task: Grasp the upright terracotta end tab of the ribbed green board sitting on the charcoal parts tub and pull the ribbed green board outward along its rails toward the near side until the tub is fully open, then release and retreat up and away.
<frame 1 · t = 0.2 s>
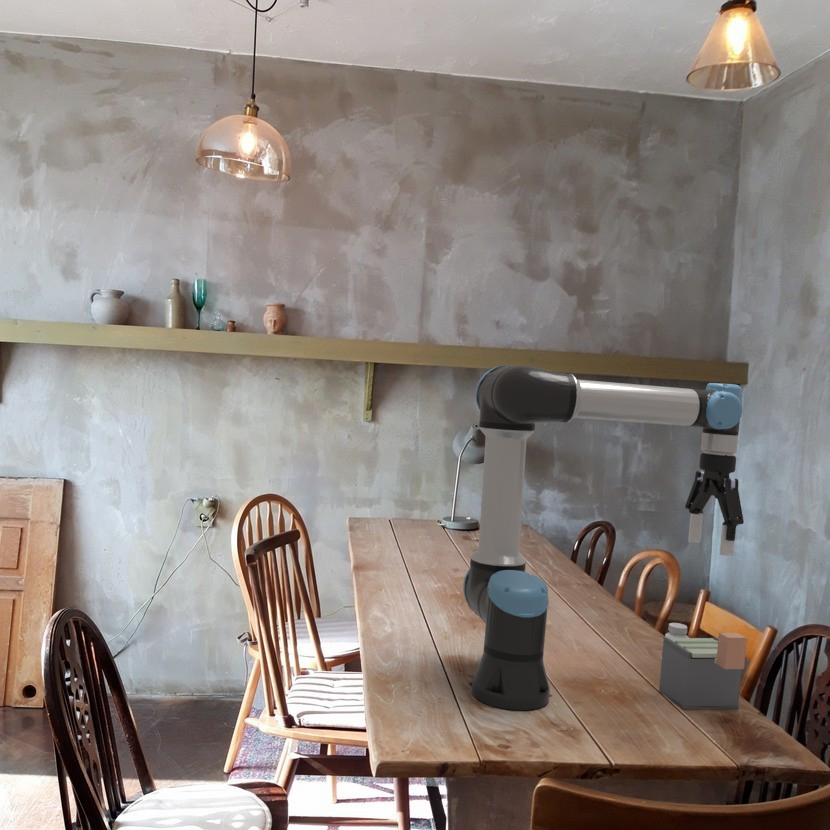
hand: (709, 548, 184), 28 cm above the table, fingers open, 13 cm apart
tub: (697, 699, 167), on the table
ribbed green board: (712, 639, 164), point 13 cm above the table, slide at 0.0 cm
pill bottle: (674, 669, 186), on the table
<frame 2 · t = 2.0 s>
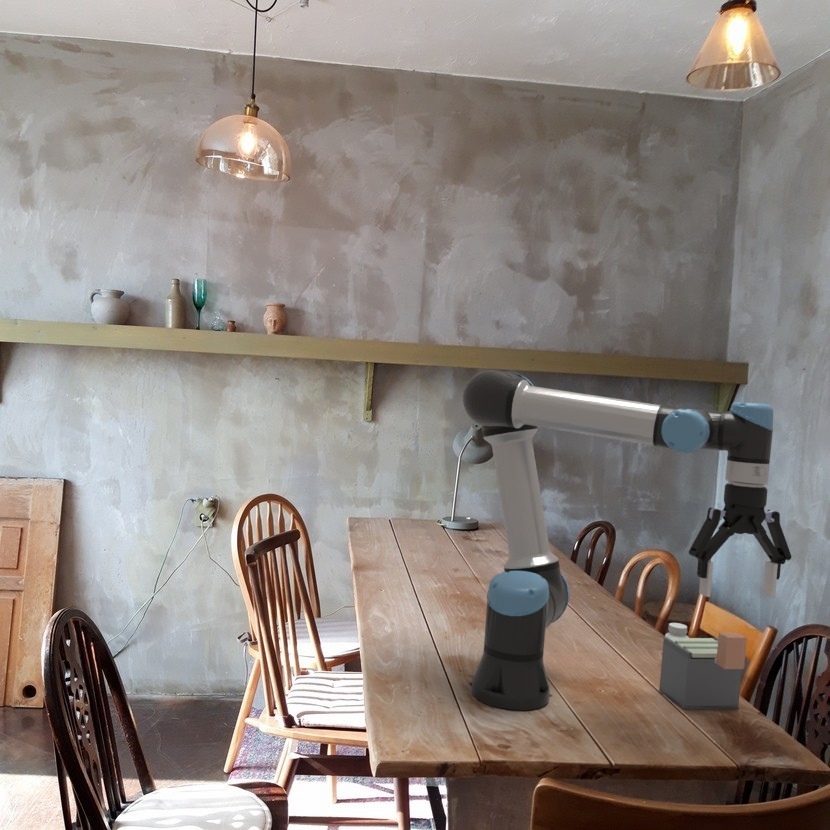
hand: (736, 595, 157), 24 cm above the table, fingers open, 13 cm apart
nothing on the table moved.
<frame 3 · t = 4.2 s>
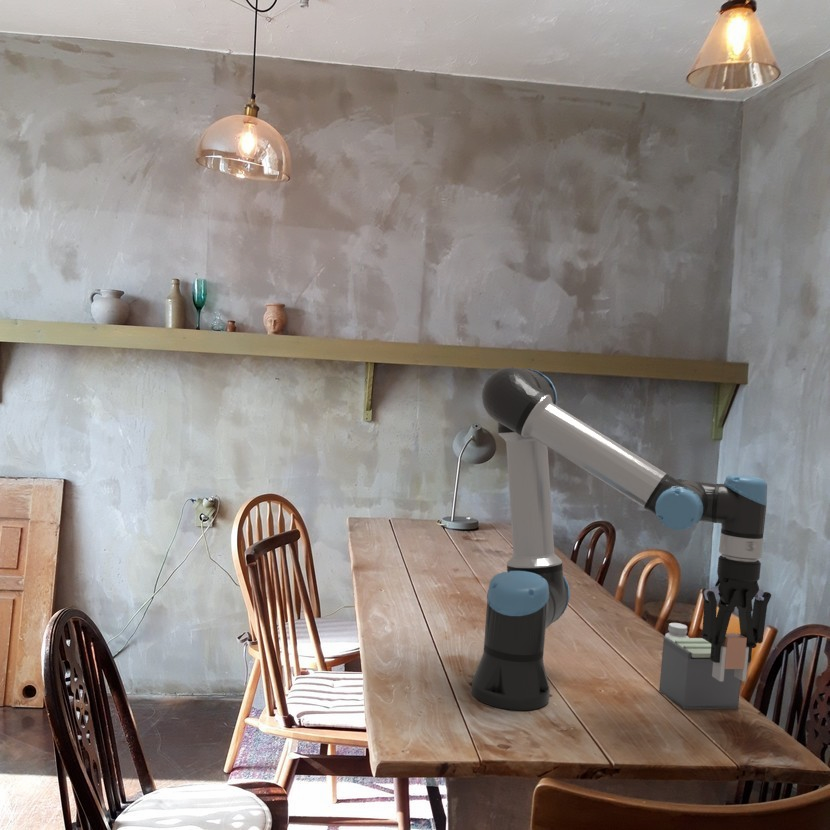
hand: (728, 678, 158), 8 cm above the table, fingers closed on ribbed green board, 4 cm apart
ribbed green board: (712, 639, 164), point 13 cm above the table, slide at 0.0 cm, touching gripper
everything else where it was.
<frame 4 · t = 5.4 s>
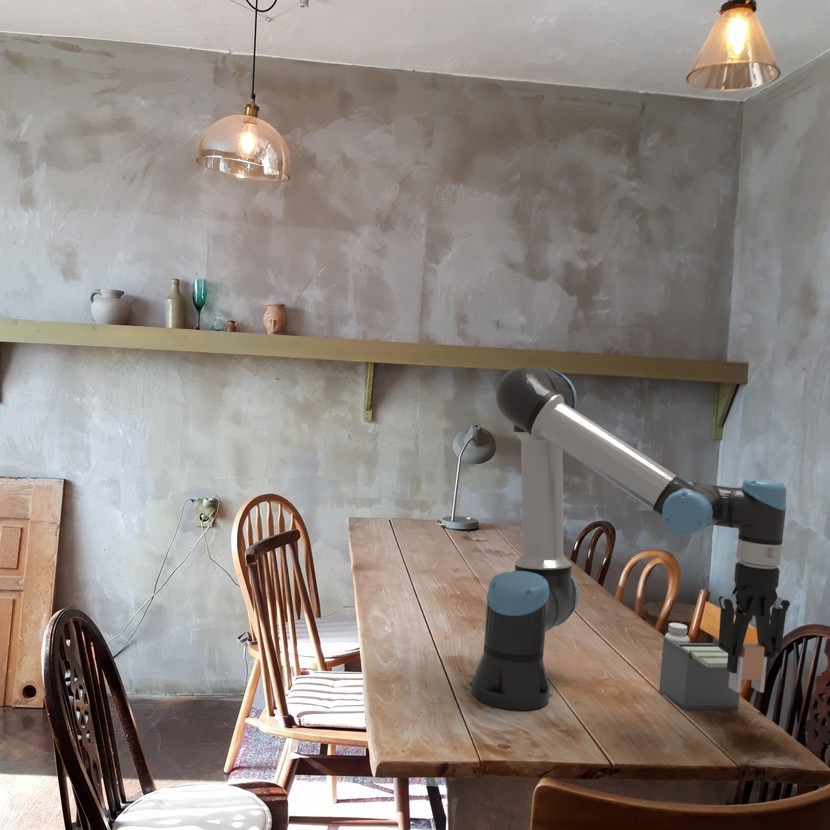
hand: (746, 689, 152), 8 cm above the table, fingers closed on ribbed green board, 4 cm apart
ribbed green board: (728, 649, 158), point 13 cm above the table, slide at 5.5 cm, touching gripper
everything else where it was.
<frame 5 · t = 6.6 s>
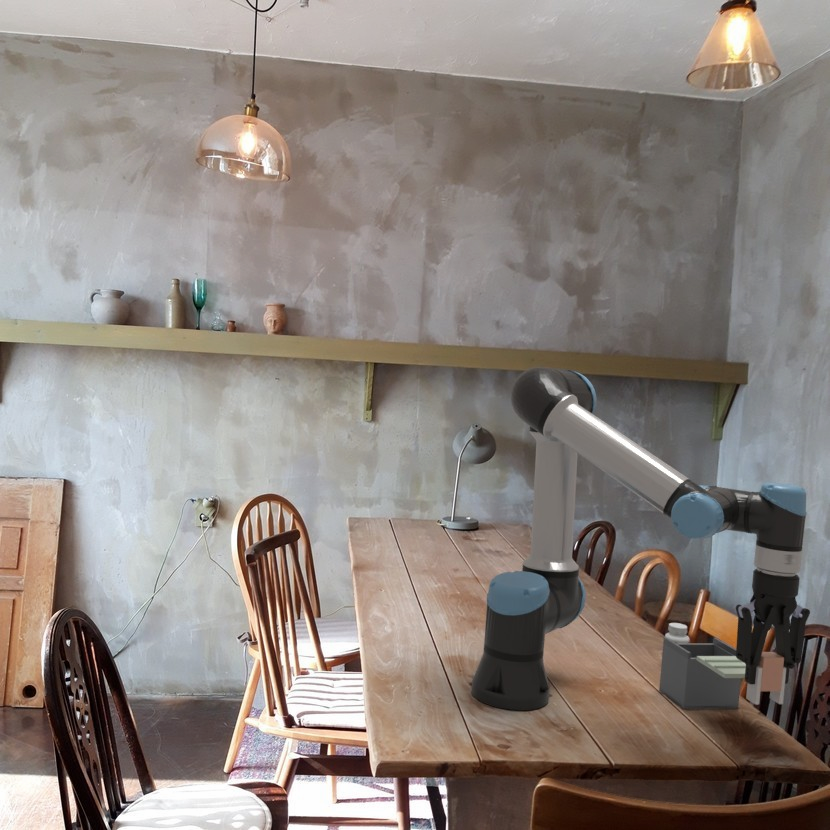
hand: (764, 701, 147), 8 cm above the table, fingers closed on ribbed green board, 4 cm apart
ribbed green board: (745, 658, 153), point 13 cm above the table, slide at 10.9 cm, touching gripper
everything else where it was.
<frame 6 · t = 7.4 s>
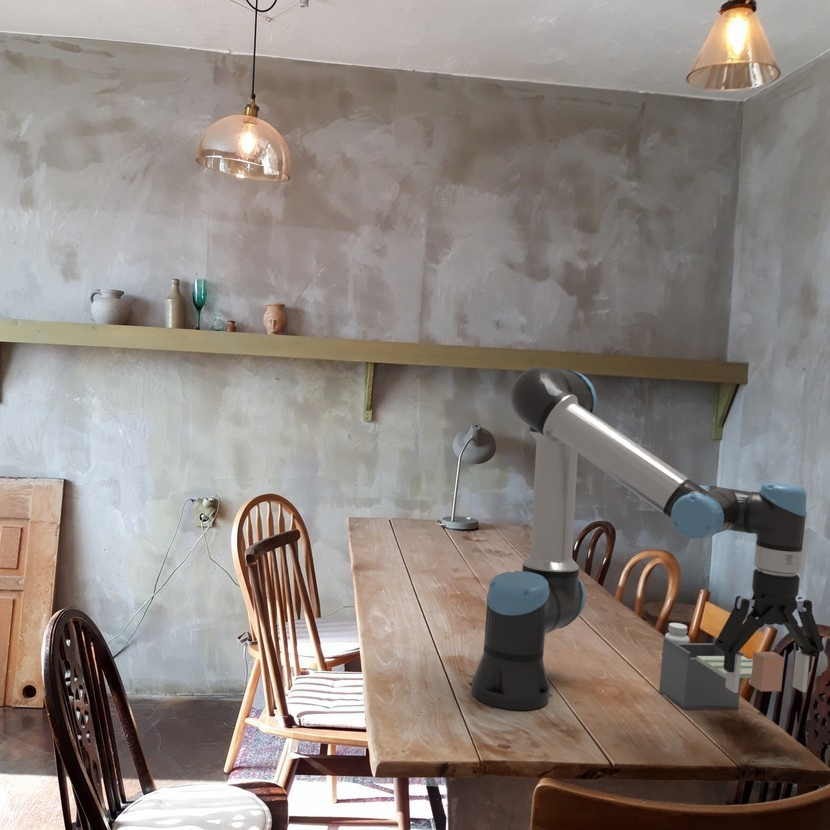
hand: (765, 689, 147), 10 cm above the table, fingers open, 13 cm apart
ribbed green board: (745, 658, 153), point 13 cm above the table, slide at 11.0 cm
everything else where it was.
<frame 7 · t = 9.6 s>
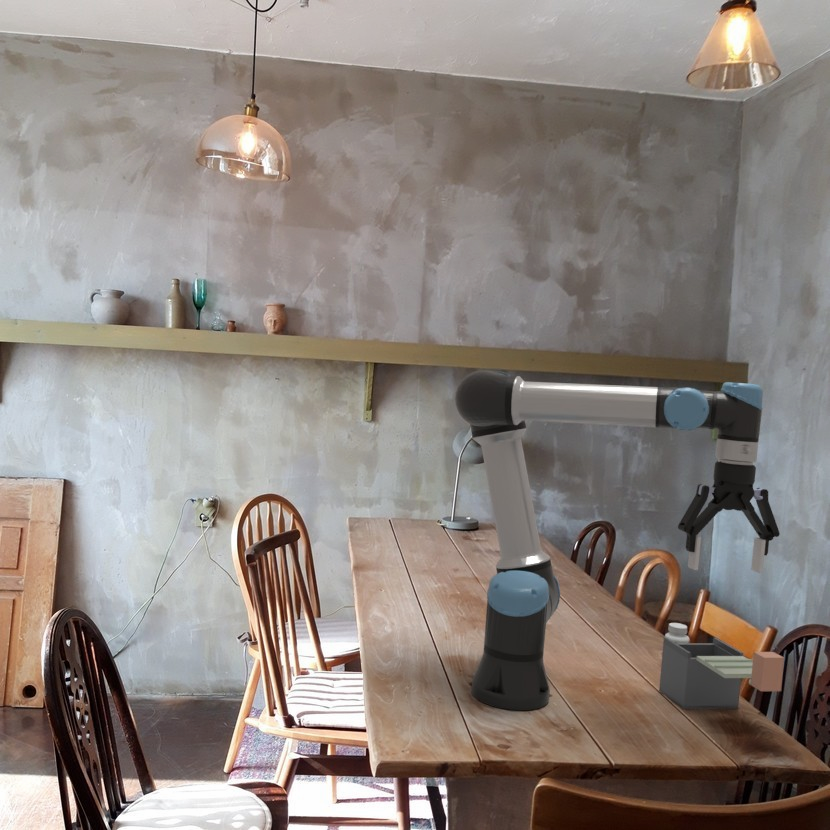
hand: (724, 570, 162), 28 cm above the table, fingers open, 13 cm apart
nothing on the table moved.
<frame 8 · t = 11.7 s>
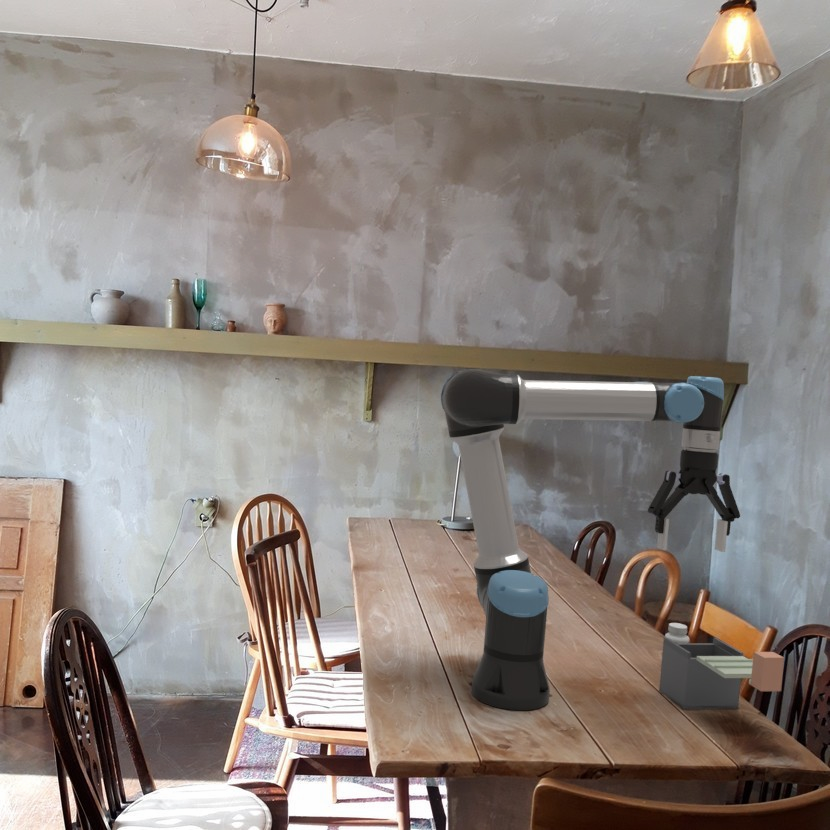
hand: (690, 549, 175), 29 cm above the table, fingers open, 13 cm apart
nothing on the table moved.
at the end: ribbed green board slide at 11.0 cm; the gripper is holding nothing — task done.
